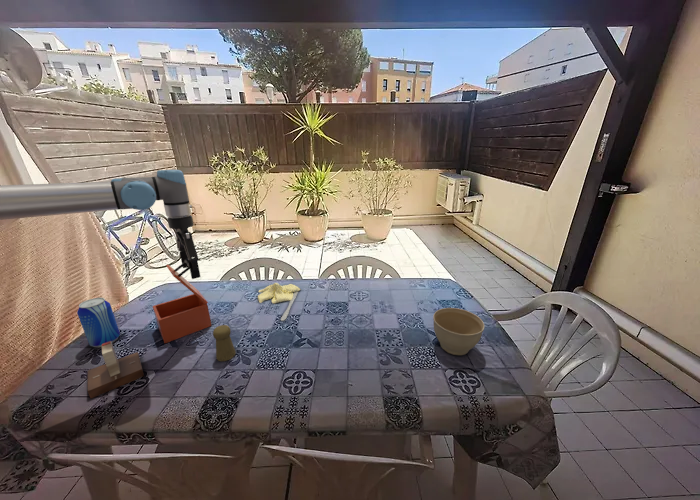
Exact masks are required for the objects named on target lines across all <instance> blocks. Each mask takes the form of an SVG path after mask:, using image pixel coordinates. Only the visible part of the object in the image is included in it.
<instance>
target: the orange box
mask: <svg viewBox="0 0 700 500" xmlns="http://www.w3.org/2000/svg"><path fill="white" fill-rule="evenodd" d="M152 310H153V313H154V317H155V321H156V324H157V327H158V330H159V333H160V336H161V338H162V341H163V343H164V344H167V343H170V342H172V341H175V340H177V339H181V338H183V337H186V336H188V335H191V334H195V333H197V332H199V331H201V330H205V329H207V328H210V327H212V321H211V315H210V311H209V310H210V309H209V305H208V303H207V304H206V303H204V302H203V301H202V300H201V299H200V298H199V297H197V296H196V295H195V294H194V293H192V294H189V295H185V296H182V297H178V298H175V299H172V300H168V301H165V302H161V303H158V304H155V305H152Z"/></svg>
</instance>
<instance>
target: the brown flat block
mask: <svg viewBox="0 0 700 500" xmlns="http://www.w3.org/2000/svg"><path fill="white" fill-rule="evenodd" d="M117 359H118V362H119V367H120V373H119V374H116V375H114V376H111V377H110V374H109V371H108V369H107V366H106V363H105V364H101V365H99V366H97V367H94V368H90V369H88V370H87V393H88V396H89V399H93V398H97V397H98V396H100V395H103V394H105V393H108V392H110V391H113V390H115V389H117V388H120V387H122V386H125V385H127V384H129V383H131V382H134V381H136V380H139V379H141V378H143V377H145V374H144V370H143V365H142V362H141V358H140V354H139V352H138V351H136V352H133V353H131V354H129V355H126V356H123V357H121V358H117Z"/></svg>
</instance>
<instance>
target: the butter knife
mask: <svg viewBox="0 0 700 500" xmlns="http://www.w3.org/2000/svg"><path fill="white" fill-rule="evenodd" d="M298 294H299V291H296V292H293V298H292V300H289V303H288V306H287V308H286V309H285V311H284V312H283V314H282V315H281V318H280V321H281V322H284V321H286V319H287V317H288V316H289V313H290V311H291V308H292V305H293V303H294V301H295V299H296V298H297V295H298Z"/></svg>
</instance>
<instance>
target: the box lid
mask: <svg viewBox="0 0 700 500" xmlns="http://www.w3.org/2000/svg"><path fill="white" fill-rule="evenodd" d="M187 261H188V259H185V262H184V263H183V264H182V263H181V264H180V265H179V266H177V267H176V268H175V269H174V268H173V267H172V266H171V265H170V264H166V265H165V266H166V268H167V269H168V271H169V272H170V274H171V275H172V277H174V278H175V280H176V281H178V282H180V283H181V285H183V286H184V287H185V288H186V289H188V290H189V292H191V293H192V294H195V295H196V296H197V297H199V298H200V299H201V300H202V301H203V302H204V303H206V304H207V305H208V303H209V302H208V300H207V299H206V298H205V297H204V295H203V294H202V293H201V292H200V290H199V289H198V288H196V287H195V286H194V285H193V284H191V283H190V282H189V281H188V280H187V279H186V278H185V277H183V275H184V274H185V273H187V272H188V271H190V268H189V267H187V268H184V270H182V271H181V272H178V271H179V270H180V269H182V268H183V266H184V265H185V264H187V265H188V266H189V263H187Z"/></svg>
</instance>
